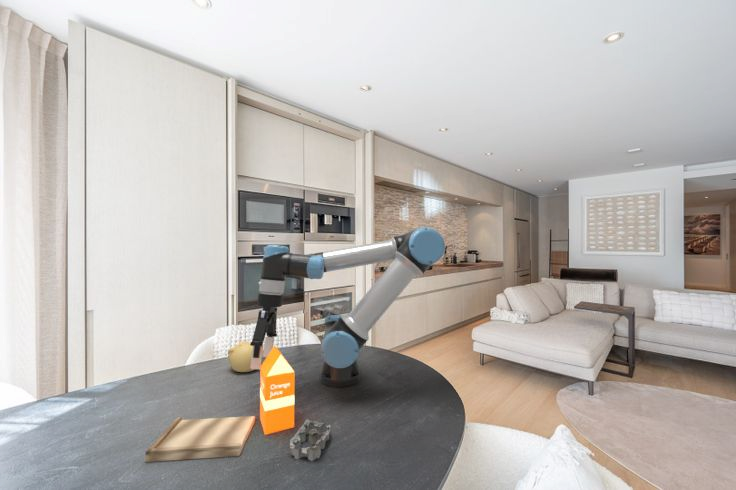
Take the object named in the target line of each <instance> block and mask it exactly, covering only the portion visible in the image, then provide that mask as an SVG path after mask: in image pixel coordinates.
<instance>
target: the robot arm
mask: <svg viewBox="0 0 736 490" xmlns="http://www.w3.org/2000/svg"><path fill="white" fill-rule="evenodd" d="M445 250H446V243H445V239H444V237H443V235H442V234H441V233H440V232H439V231H437V230H436V229H434V228H433V227H426V226H424V227H419V228H417V229H413V230H411V231H409V232H406V233H403V234H400V235H397V236H396V235H395V236H392V237H391V238H390V239H389V240H383V241H377V242H373V243H372V242H371V243H367V244H361V245H355V246H350V247H343V248H339V249H333V250H326V251H321V252H315V253H308V254H303V253H302V254H301V253H299V254H298V253H292V252H290V249H289V247H288V246H284V245H280V244H279V245H277V244H268V245H266V246H265V249H264V254H263V258H262V266H261V275H260V281H258V282H257V284H258V285H259V287H258V292H260V293H258V295H257V301H256V302H257V303H256V305H258V306H259V307H262V309H261V310H259V311H258V317H257V321H256V324H255V327H254V333H253V336H252V340H251V341H250V342H251V343H250V345H251V346H253V352H252V359H251V366H250V369H255V370H259V371H260V366H261V365H262V360H263V358H267V356H268V355H269V353H270V352H271V350H272V348H273V347H274V341H275V337H277V336H278V333H277V313H278V308H280V307H282V305H283V300H284V299H283V297H284V296H283V295H282V294H284V292H285V283H286V277H293V278H302V279H310V280H321V279H322V278H323V277H324V273H328V272H333V271H339V270H345V269H353V268H357V267H362V266H368V265H369V266H370V265H372V264H373V265H374V264H379V263H385V262H391V261H392V263H390V264H389V266H388V267H387V268H386V270H385V271H384V272H383V273H382V275H380V276H379V278H378V279H377V280H376V281H375V282H374V284H373V285H371V287H370V288H369V290H367V292H366V293H365V294H364V295H363V297H362V298H361V299H360V300H359V301H358V303H356V305H354V307H353V308H352V310H350V312H349V313H348V314H334V315H333V314H331V315H327V316H325V318H324V319H325V320H324V334H323V338H322V339H321V342H320V345H319V346H320V355H321V357H322V359H323V361H322V362H323V363H322V365H321V369H320V372H319V381H320V382H321V383H322V384H324V385H325V386H329V387H337V388H340V387H350V386H353V385H355V384H357V383H359V382H360V381H361V380H362V370H361V368H360V364H359V362H358V361H359V360H358V356H359V352H360V350H361V349H362V348H363V346H364V345H365V344H366V343H367V342H368V341H369V332H370V331H371V329H372V328H373V326H375V325H376V323H378V321H379V320H380V319H381V318H382V316H383V315H384V314H385V313H386V311H388V309H389V308H390V307H391V306H392V304H393V303H394V302H395V301H396V300H397V298H398V297H400V295H401V294H402V292H404V290H405V289H406V287H407V286H409V285H410V283H411V282H412V281H413V279H414V278H415V277H417V276H423V274H424V273H425V272H426V271H427V270H428V269H429V268H430V266H431V265H434V264H436V263H437V262H438V261H440V260H441V259H442V257H443V256H444V254H445Z"/></svg>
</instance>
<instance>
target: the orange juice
mask: <svg viewBox="0 0 736 490" xmlns="http://www.w3.org/2000/svg"><path fill="white" fill-rule="evenodd" d="M289 363H290V362H288V360H287V359H286V358H285V357H284V355H283V354H282V352H280V350H279V349H278V348H277V346H276V345H275V344H273V348H272V350H271V352H270V353H269V355H268V356H267V357H265V359H264V360H263V362H262V363H261V366H260V370H259V371H260V372H259V373H260V377H259V378H260V379H259V380H260V381H259V382H260V383H259V419H260V423H261V426H262V430H263V433H264V435H269V434H273V433H274V434H275V433H277V432H281V431H284V430H288V429H291V428H295V400H296V399H295V382H296V381H295V376H296V375H295V372H296V371H295V370H294V369H293V367H292V366H291V364H289Z"/></svg>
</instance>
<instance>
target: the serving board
mask: <svg viewBox="0 0 736 490" xmlns="http://www.w3.org/2000/svg"><path fill="white" fill-rule="evenodd" d="M255 422H256V415H250V416H249V415H248V416H246V415H245V416H233V417H231V416H229V417H215V418H214V417H213V418H212V417H211V418H210V417H209V418H196V419H195V418H194V419H193V418H192V419H183V417H182V416H178V417H176V418H175V419H174V420H173V422H172V423H171V424H170V425H169V426H168V427H167V428H166V429H165V430H164V431H163V433H161V435H159V437H158V438H157V439H156V440H155V441H154V442H153V443H152V444H151V445H150V447H148V448H147V450H146V451H145V463H149V462H150V463H151V462H153V463H154V462H167V461H181V460H182V461H183V460H193V459H194V460H196V459H209V458H213V459H214V458H224V457H228V458H229V457H238V456H239V457H240V455H241V453H242V451H243V448H244V447H245V444H246V443H247V439H248V437H249V435H250V433H251V432H252V428H253V427H254V425H255Z"/></svg>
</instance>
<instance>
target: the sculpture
mask: <svg viewBox="0 0 736 490" xmlns="http://www.w3.org/2000/svg"><path fill="white" fill-rule="evenodd" d="M251 342H252V341H240V342H238V344H236V345H233V346H232V347H230V348H228V350H227V360H228V362H229V364H230V367H231V368H232V370H233V371H234V372H240V373H248V372H252V371H255V370H256V369H250V366H251V359H252V352H253V346H251V345H250V343H251Z"/></svg>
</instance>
